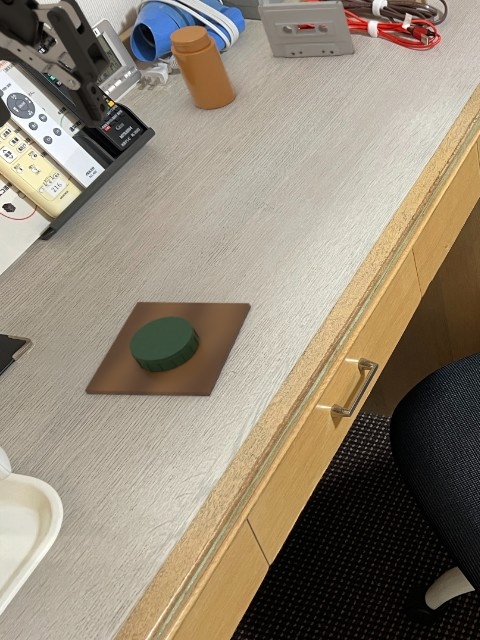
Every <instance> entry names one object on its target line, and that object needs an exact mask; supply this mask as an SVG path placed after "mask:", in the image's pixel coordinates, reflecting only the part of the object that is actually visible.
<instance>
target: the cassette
mask: <svg viewBox="0 0 480 640" xmlns="http://www.w3.org/2000/svg"><path fill="white" fill-rule="evenodd" d="M257 11H258V14H259V18H260V20H261V23H262V26H263V30H264V32H265V35H266V38H267V42H268V44H269V47H270V50H271V53H272V56H273V57H276V58H282V57H283V58H307V57H329V56H331V57H332V56H342V55H352V54H353V53H354V52H355V47H354V43H353V39H352V34H351V31H350V27H349V24H348V19H347V16H346V15H347V14H346V12H345V7H344V5H343V2H342V1H341V0H326V1H325V0H324V1H323V0H321V1H301V2H300V1H298V2H277V3H276V2H275V3H274V2H273V3H260V4H258V6H257ZM301 25H302V26H304V25H305V26H306V25H314V28H307V29H305V28H303V29H299V26H301Z"/></svg>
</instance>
